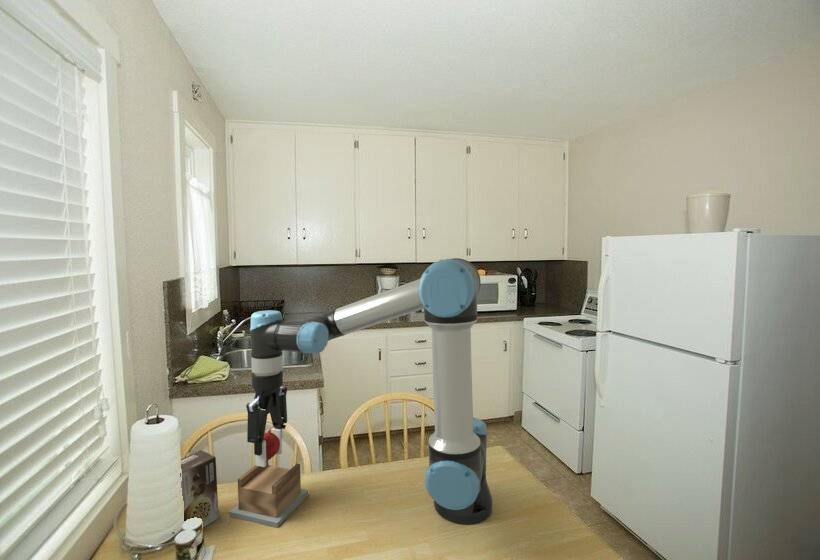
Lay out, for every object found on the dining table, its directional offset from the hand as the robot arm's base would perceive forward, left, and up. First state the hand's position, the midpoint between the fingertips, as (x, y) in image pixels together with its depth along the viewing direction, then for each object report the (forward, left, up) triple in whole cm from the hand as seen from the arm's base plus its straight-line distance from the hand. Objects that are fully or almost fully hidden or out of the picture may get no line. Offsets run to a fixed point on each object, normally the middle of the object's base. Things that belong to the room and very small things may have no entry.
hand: (269, 458), depth 106 cm
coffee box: (+13, +12, -13) cm, 22 cm away
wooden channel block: (0, 0, -11) cm, 11 cm away
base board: (0, 0, -12) cm, 12 cm away
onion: (0, 0, 0) cm, 0 cm away
